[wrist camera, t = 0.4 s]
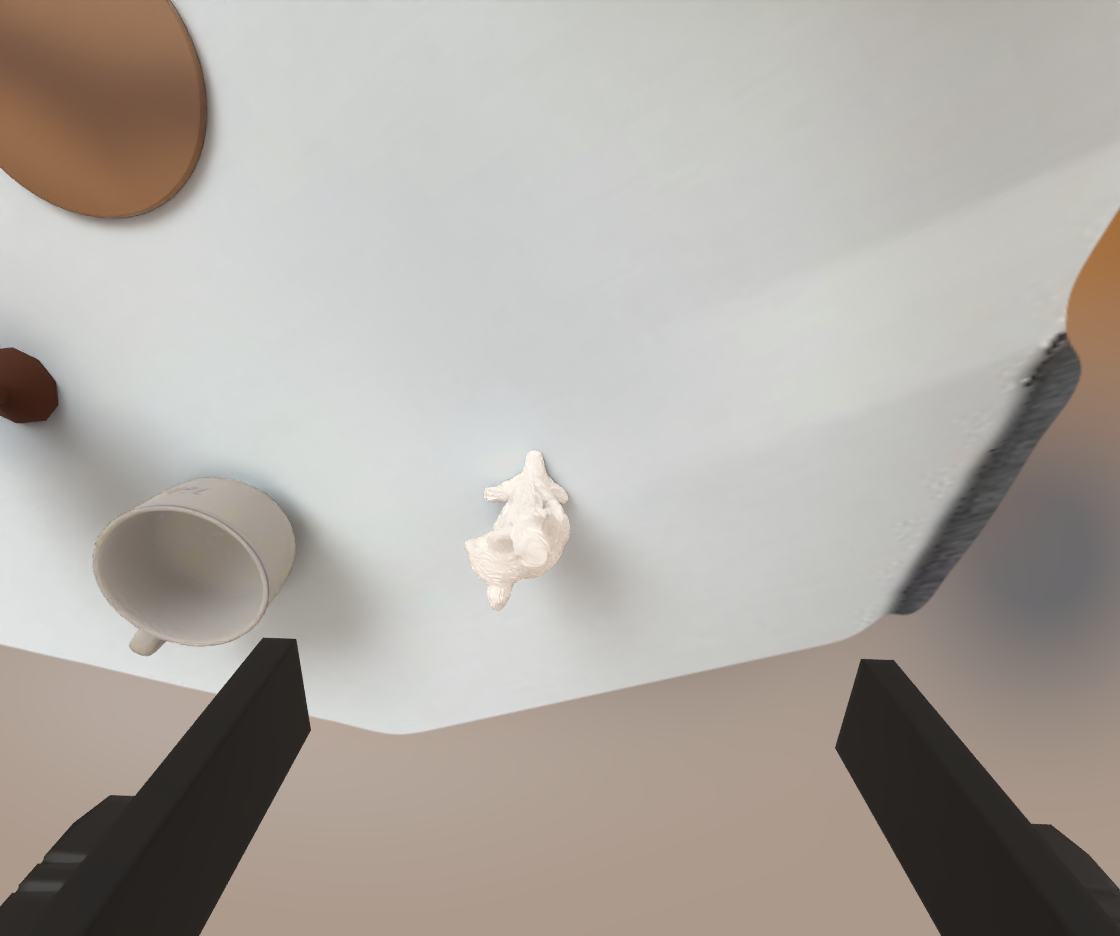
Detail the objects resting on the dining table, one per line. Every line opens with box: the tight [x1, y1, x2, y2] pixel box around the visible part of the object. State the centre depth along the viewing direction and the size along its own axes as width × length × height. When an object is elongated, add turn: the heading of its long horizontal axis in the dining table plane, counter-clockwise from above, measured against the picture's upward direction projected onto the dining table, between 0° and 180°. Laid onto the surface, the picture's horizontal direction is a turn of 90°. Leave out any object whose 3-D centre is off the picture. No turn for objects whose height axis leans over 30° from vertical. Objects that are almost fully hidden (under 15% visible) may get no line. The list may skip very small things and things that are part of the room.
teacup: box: [93, 478, 295, 656], centre depth 39 cm, size 14×11×8 cm
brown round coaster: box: [0, 0, 207, 218], centre depth 32 cm, size 15×15×1 cm
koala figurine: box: [464, 450, 570, 611], centre depth 36 cm, size 8×7×12 cm
